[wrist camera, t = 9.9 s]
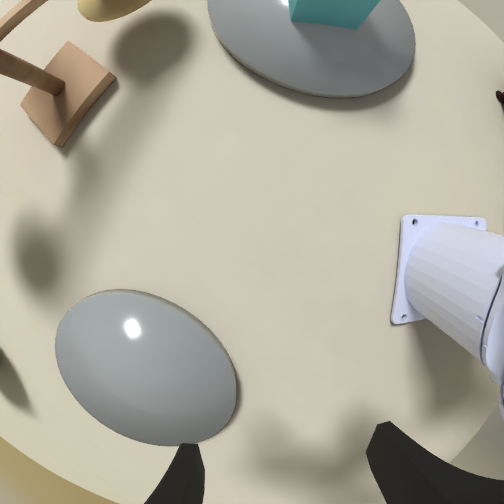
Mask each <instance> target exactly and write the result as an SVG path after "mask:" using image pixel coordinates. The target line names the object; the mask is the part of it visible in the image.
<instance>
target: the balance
mask: <svg viewBox="0 0 504 504" xmlns="http://www.w3.org/2000/svg"><path fill="white" fill-rule="evenodd" d="M46 1H48V0H22V1H21V2H20V3H18V4H17V5H16V6H15V7H14V8H12V9H11V10H10V11H9V12H8V13H7V14H6V15H5V16H3V17H2V18H1V19H0V41H1V40H2V39H3V38H5V37H6V36H7V35H8V34H9V33H10V32H11V31H12V30H13V29H14V28H15V27H16V26H17V25H18V24H19V23H21V22H22V21H23V20H24V19H25V18H26V17H27V16H29V15H30V14H31V13H32V12H34V11H35V10H36V9H37V8H38V7H40V6H41V5H42V4H44V3H45V2H46ZM150 1H151V0H78V10H79V12H80V13H81V14H82V15H83V16H84V17H85V18H86V19H88V20H90V21H94V22H104V21H110V20H113V19H117V18H120V17H122V16H125V15H127V14H129V13H132V12H134V11H135V10H137V9H139V8H141V7H142V6H144V5H145V4H147V3H148V2H150ZM0 74H2V75H5V76H8V77H10V78H13V79H15V80H18V81H21V82H23V83H26V84H28V85H30V86H32V87H31V88H30V90H29V91H28V93H27V94H26V96H25V97H24V99H23V100H22V102H21V104H20V106H21V107H22V108H23V109H24V111H25V112H26V113H27V114H28V115H29V117H30V118H31V119H32V120H33V122H34V123H35V124H36V125H37V126H38V127H39V129H40V130H41V131H42V132H43V133H44V134H45V136H46V137H47V138H48V139H49V140H50V141H51V142H52V144H53V145H59V146H63V145H64V144H65V142H66V141H67V139H68V138H69V136H70V135H71V133H72V132H73V131H74V129H75V128H76V126H77V125H78V124H79V122H80V121H81V120H82V118H83V117H84V116H85V114H86V113H87V112H88V110H89V109H90V108H91V107H92V105H93V104H94V103H95V102H96V100H97V99H98V98H99V97H100V96H101V94H102V93H103V92H104V91H105V90H106V89H107V87H108V86H109V85H110V84H111V83H112V82H113V81H114V80H115V78H116V77H115V76H114V75H113V74H112V73H110V72H109V71H108V70H107V69H105V68H104V67H103V66H102V65H100V64H99V63H98V62H96V61H95V60H94V59H92V58H91V57H90V56H88V55H87V54H86V53H84V52H83V51H82V50H80V49H79V48H78V47H76V46H75V45H74V44H72V43H71V42H70V41H67V42H66V43H65V45H64V46H63V47H62V48H61V49H60V50H59V52H58V53H57V54H56V55H55V56H54V58H53V59H52V60H51V61H50V63H49V64H48V65H47V66H46V68H45V69H44V70H42V69H40V68H38V67H36V66H34V65H32V64H30V63H28V62H26V61H24V60H22V59H20V58H18V57H16V56H14V55H12V54H10V53H8V52H6V51H4V50H1V49H0Z"/></svg>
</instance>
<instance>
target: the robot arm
mask: <svg viewBox="0 0 504 504" xmlns="http://www.w3.org/2000/svg"><path fill="white" fill-rule="evenodd" d="M413 219H414V220H415V224H414V225H412V221H413ZM475 222H476V224H475ZM403 315H404V317H403V318H401V317H402V316H403ZM423 319H428V320H429V321H431V322H432V323H433V324H435V325H436V326H437V327H438V328H440V329H441V330H442V331H443V332H445V333H446V334H447V335H448V336H450V337H451V338H452V339H453V340H455V341H456V342H457V343H458V344H460V345H461V346H462V347H463V348H464V349H466V350H467V351H468V352H469V353H470V354H472V355H473V356H474V357H475V358H476V359H478V360H479V361H480V362H481V363H482V364H483V365H485V366H486V367H487V368H488V369H489V370H490V379H491V380H492V381H493V382H495V383H496V384H497V385H498V386H499V387H500V392H499V401H498V403H499V410H500V414H501V416H502V419H503V421H504V236H503V235H499V234H496V233H492V232H488V231H486V220H485V219H484V218H478V217H460V216H438V215H408V214H407V215H404V216H403V217H402V219H401V233H400V248H399V260H398V270H397V279H396V287H395V295H394V302H393V308H392V314H391V321H392V322H393V323H394V324H402V323H407V322H413V321H418V320H423ZM366 454H367V458H368V461H369V465H370V468H371V471H372V473H373V475H374V477H375V480H376V482H377V484H378V486H379V488H380V490H381V492H382V494H383V496H384V499H385V501H386V503H387V504H504V480H496V479H491V478H486V477H482V476H478V475H475V474H472V473H469V472H466V471H464V470H461V469H459V468H457V467H455V466H453V465H451V464H449V463H447V462H445V461H443V460H442V459H440V458H438V457H437V456H435V455H433V454H432V453H430V452H429V451H427V450H426V449H425V448H423V447H422V446H420V445H419V444H418V443H416V442H415V441H414V440H413V439H411V438H410V437H409V436H407V435H406V434H405V433H404V432H402V431H401V430H400V429H399V428H398V427H396V426H395V425H394V424H393V423H391V422H390V421H388V422H384V423H381V424H377V426H376V429H375V431H374V434H373V436H372V439H371V441H370V443H369V446H368V448H367V450H366ZM204 484H205V469H204V465H203V461H202V458H201V454H200V450H199V446H198V444H191V443H182V444H180V446H179V448H178V451H177V453H176V455H175V457H174V459H173V461H172V463H171V464H170V466H169V468H168V470H167V471H166V473H165V475H164V476H163V478H162V479H161V481H160V483H159V484H158V486H157V487H156V489H155V490H154V491H153V493H152V494H151V495H150V497H149V498H148V499H147V501H146V502H145V503H144V504H202V503H203V496H204Z"/></svg>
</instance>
